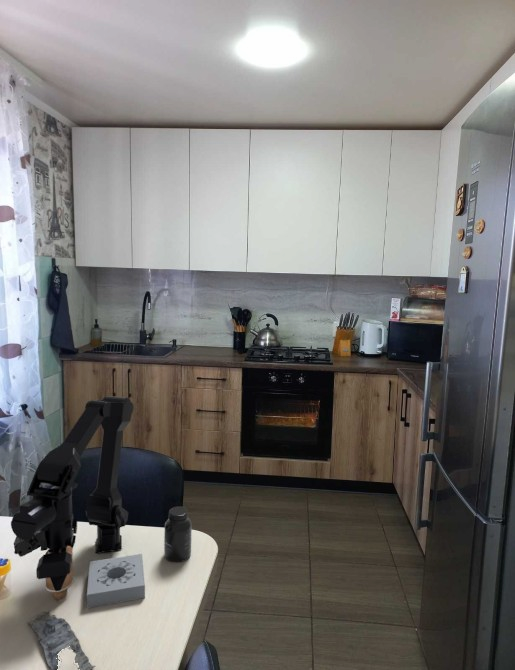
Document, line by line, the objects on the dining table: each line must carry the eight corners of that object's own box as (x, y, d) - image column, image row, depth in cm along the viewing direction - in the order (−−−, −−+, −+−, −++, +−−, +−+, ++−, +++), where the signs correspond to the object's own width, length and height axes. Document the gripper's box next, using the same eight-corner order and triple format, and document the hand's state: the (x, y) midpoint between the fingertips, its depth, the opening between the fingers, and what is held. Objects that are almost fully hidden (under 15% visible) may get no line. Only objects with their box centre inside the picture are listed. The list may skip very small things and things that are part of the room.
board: (90, 573, 107) (90, 561, 107) (142, 565, 111) (142, 553, 111) (87, 607, 96) (86, 594, 96) (144, 597, 99) (144, 585, 99)
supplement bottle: (159, 560, 113) (159, 515, 112) (171, 545, 120) (171, 502, 118) (185, 565, 111) (185, 519, 110) (195, 549, 118) (195, 506, 117)
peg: (48, 588, 102) (46, 546, 101) (74, 584, 103) (73, 543, 102) (44, 605, 96) (42, 561, 95) (72, 600, 98) (71, 557, 97)
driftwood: (25, 622, 92) (25, 613, 92) (60, 608, 96) (60, 599, 96) (56, 695, 76) (55, 684, 76) (95, 674, 81) (95, 663, 80)
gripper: (25, 499, 104) (27, 562, 106) (6, 544, 87) (9, 618, 88) (76, 494, 108) (78, 555, 109) (68, 535, 90) (70, 608, 92)
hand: (59, 581), depth 99 cm, fingers closed on peg, 5 cm apart
